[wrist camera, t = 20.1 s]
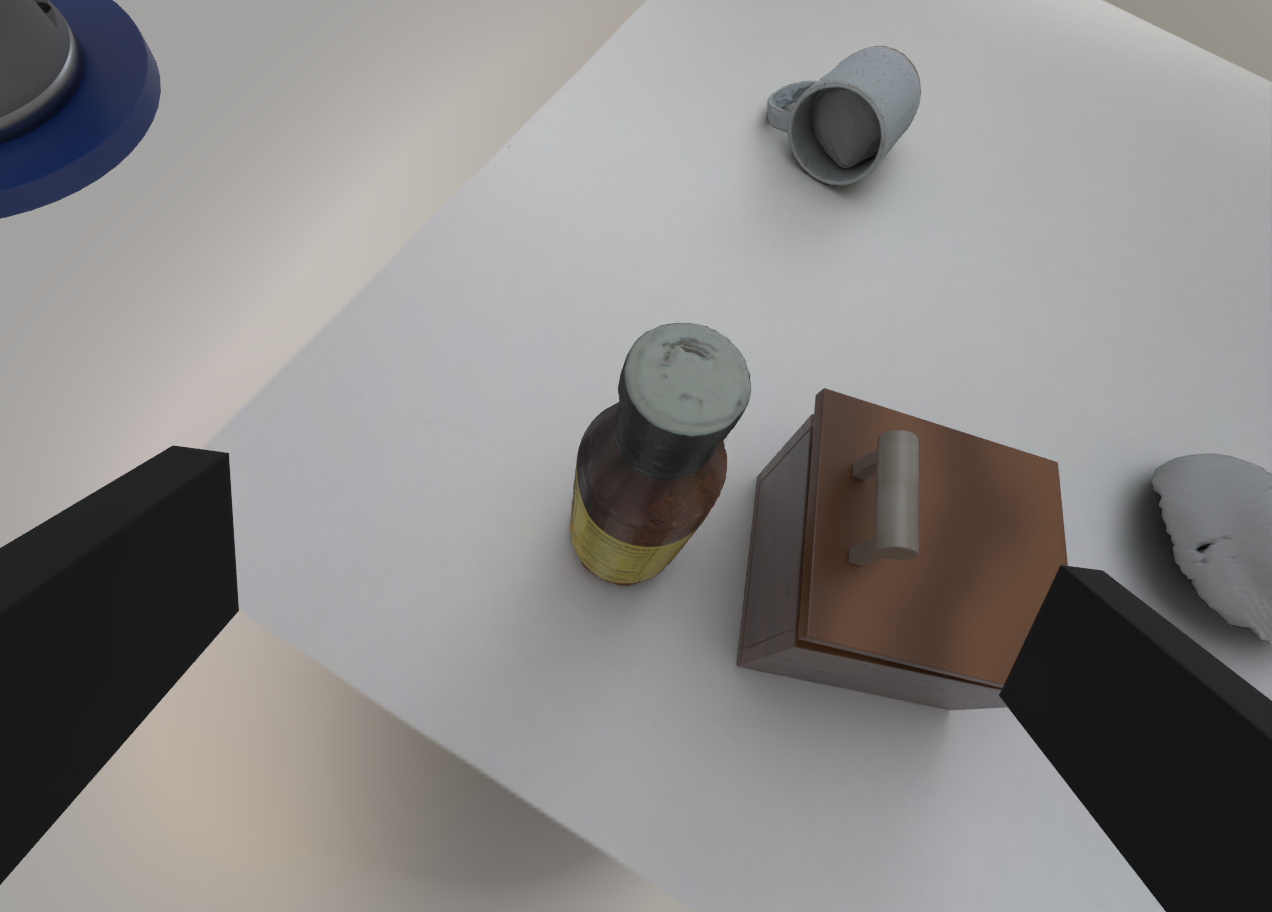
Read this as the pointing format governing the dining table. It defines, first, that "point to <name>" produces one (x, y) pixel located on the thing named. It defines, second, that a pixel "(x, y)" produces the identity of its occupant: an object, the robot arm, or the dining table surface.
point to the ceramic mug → (849, 114)
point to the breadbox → (779, 594)
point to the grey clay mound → (1222, 533)
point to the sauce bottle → (657, 452)
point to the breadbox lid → (925, 541)
